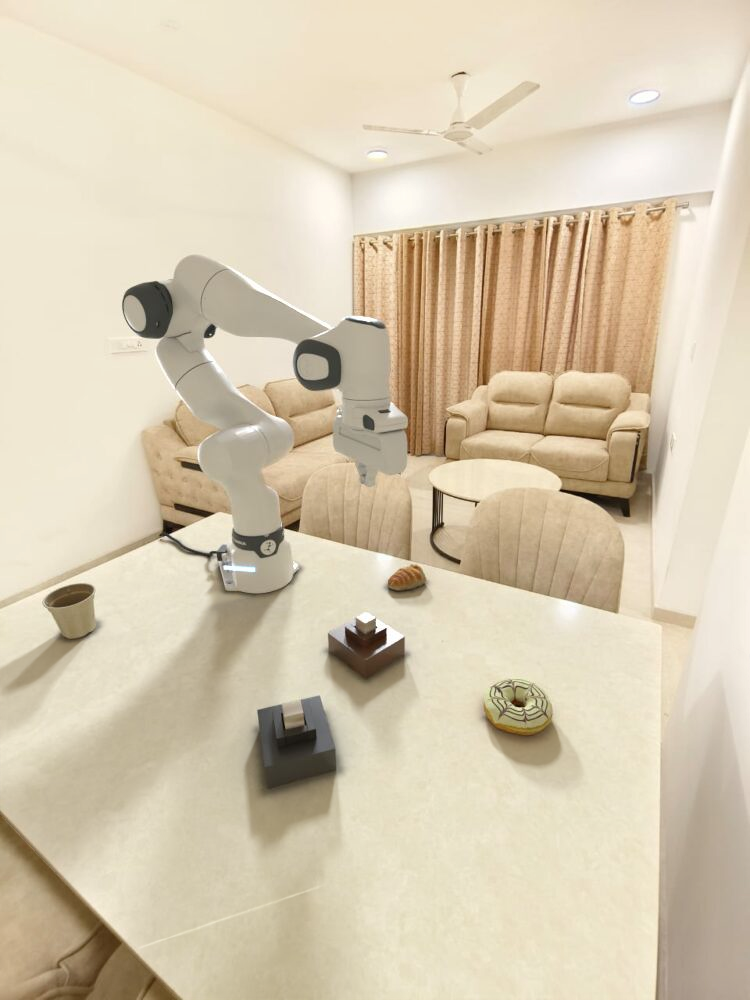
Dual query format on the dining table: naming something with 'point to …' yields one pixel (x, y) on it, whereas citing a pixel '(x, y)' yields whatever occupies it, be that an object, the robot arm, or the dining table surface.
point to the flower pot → (72, 609)
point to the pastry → (407, 578)
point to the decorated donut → (514, 719)
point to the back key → (365, 623)
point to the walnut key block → (366, 647)
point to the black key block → (296, 744)
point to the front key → (293, 714)
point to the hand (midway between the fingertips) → (367, 484)
